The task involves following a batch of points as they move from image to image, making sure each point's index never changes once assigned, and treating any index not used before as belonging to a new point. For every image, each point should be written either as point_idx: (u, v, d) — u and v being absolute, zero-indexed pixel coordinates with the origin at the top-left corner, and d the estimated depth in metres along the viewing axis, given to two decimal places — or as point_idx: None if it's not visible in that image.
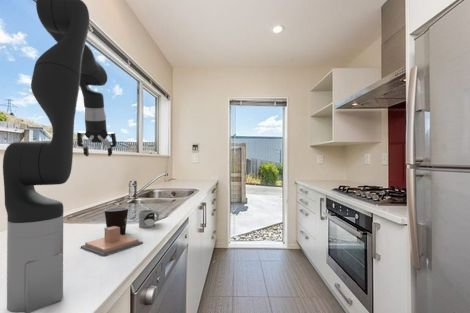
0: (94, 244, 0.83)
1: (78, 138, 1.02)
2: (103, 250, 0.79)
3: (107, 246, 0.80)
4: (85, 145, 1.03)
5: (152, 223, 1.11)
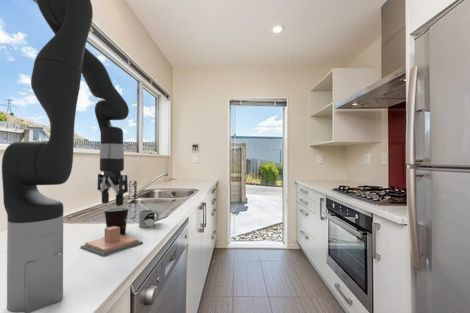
0: (94, 244, 0.83)
1: (98, 180, 0.89)
2: (103, 250, 0.79)
3: (107, 246, 0.80)
4: (101, 189, 0.88)
5: (152, 223, 1.11)
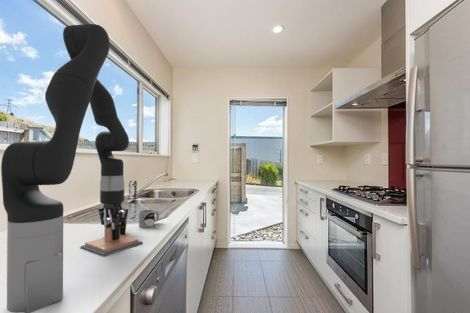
0: (94, 244, 0.83)
1: (100, 215, 0.88)
2: (103, 250, 0.79)
3: (107, 246, 0.80)
4: (105, 224, 0.87)
5: (152, 223, 1.11)
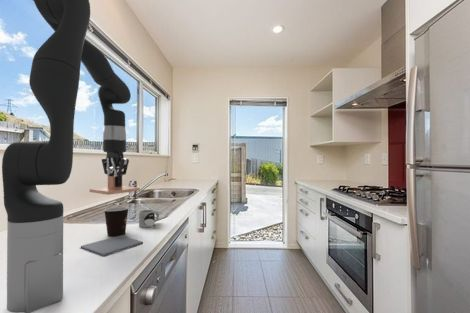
0: (98, 189, 0.88)
1: (103, 165, 0.93)
2: (106, 193, 0.83)
3: (110, 190, 0.85)
4: (108, 173, 0.91)
5: (152, 223, 1.11)
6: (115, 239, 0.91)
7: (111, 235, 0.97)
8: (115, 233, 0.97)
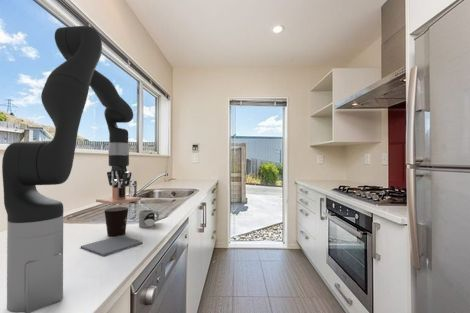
0: (104, 200, 0.98)
1: (108, 177, 1.04)
2: (112, 203, 0.94)
3: (115, 200, 0.96)
4: (113, 184, 1.02)
5: (152, 223, 1.11)
6: (115, 239, 0.91)
7: (111, 235, 0.97)
8: (115, 233, 0.97)
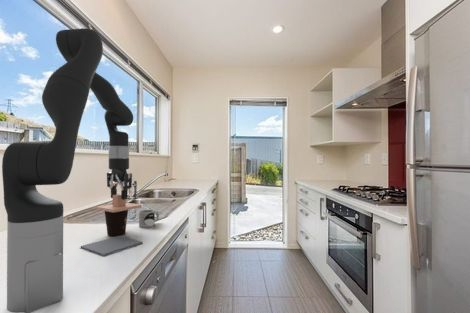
0: (104, 207, 0.98)
1: (107, 178, 1.04)
2: (112, 210, 0.94)
3: (115, 208, 0.96)
4: (111, 186, 1.03)
5: (152, 223, 1.11)
6: (115, 239, 0.91)
7: (111, 235, 0.97)
8: (115, 233, 0.97)
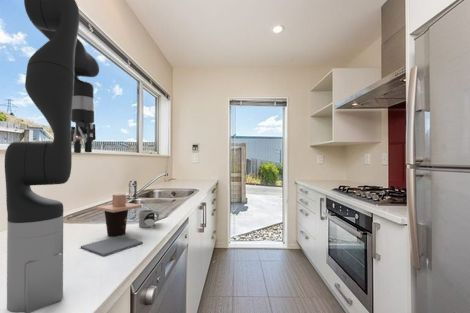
0: (104, 207, 0.98)
1: (71, 132, 0.98)
2: (112, 210, 0.94)
3: (115, 208, 0.96)
4: (74, 140, 0.96)
5: (152, 223, 1.11)
6: (115, 239, 0.91)
7: (111, 235, 0.97)
8: (115, 233, 0.97)
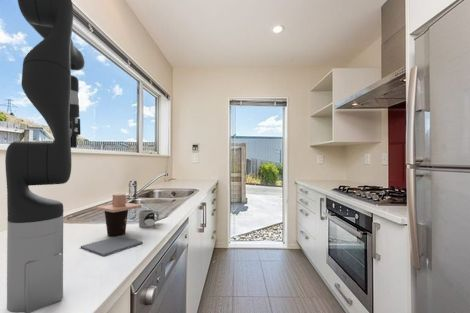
0: (104, 207, 0.98)
1: None
2: (112, 210, 0.94)
3: (115, 208, 0.95)
4: None
5: (152, 223, 1.11)
6: (115, 239, 0.91)
7: (111, 235, 0.97)
8: (115, 233, 0.97)
